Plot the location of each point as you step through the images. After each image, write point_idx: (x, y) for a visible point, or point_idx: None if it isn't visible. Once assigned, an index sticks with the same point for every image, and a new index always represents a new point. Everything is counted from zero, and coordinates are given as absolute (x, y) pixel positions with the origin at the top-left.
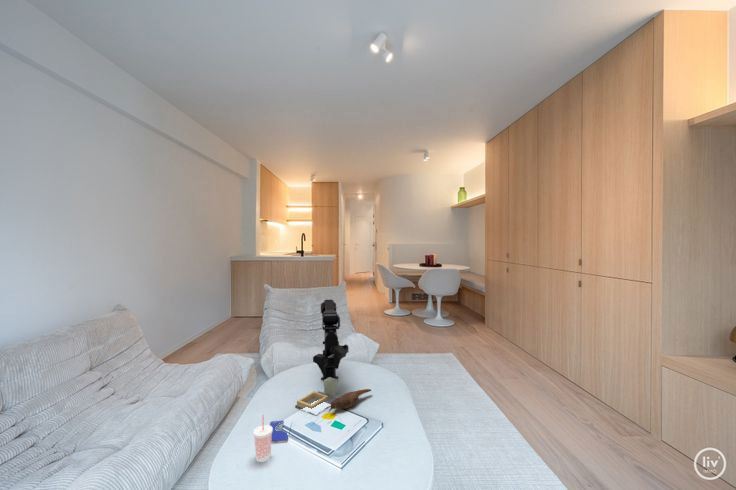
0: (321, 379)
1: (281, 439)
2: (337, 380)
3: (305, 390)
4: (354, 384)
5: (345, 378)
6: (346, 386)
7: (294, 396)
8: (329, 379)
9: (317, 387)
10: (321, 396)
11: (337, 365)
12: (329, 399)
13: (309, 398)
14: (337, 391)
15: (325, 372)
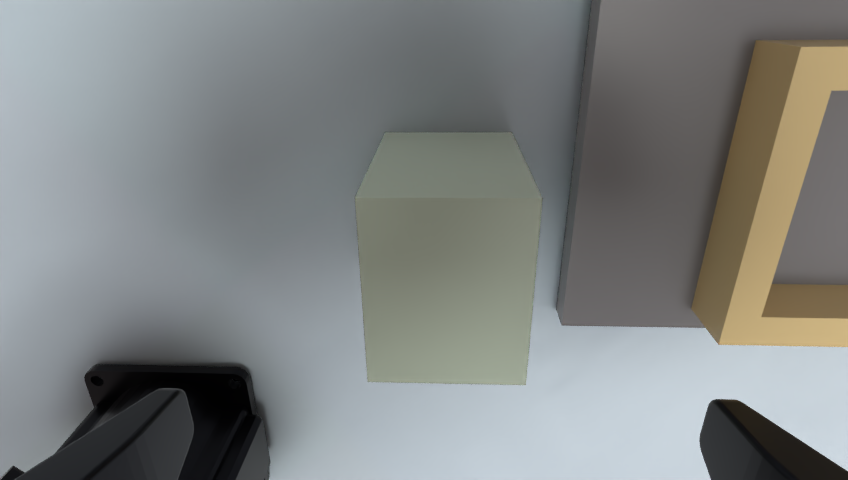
0: (268, 475)
1: None
2: (363, 190)
3: (563, 459)
4: (37, 62)
5: (24, 285)
6: (174, 129)
7: None
8: (450, 325)
9: (435, 406)
10: (795, 162)
11: (125, 466)
12: (715, 44)
13: (828, 292)
14: (387, 135)
15: (797, 464)
